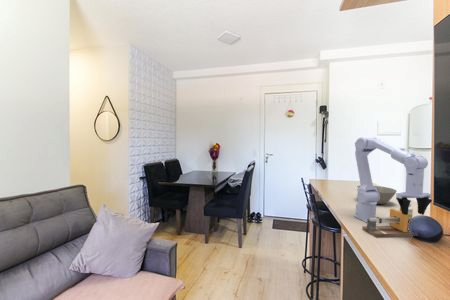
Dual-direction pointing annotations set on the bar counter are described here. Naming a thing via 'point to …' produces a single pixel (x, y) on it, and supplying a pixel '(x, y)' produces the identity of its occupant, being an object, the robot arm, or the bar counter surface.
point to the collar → (403, 220)
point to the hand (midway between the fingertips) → (412, 214)
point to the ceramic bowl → (384, 194)
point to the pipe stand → (385, 228)
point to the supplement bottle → (409, 211)
